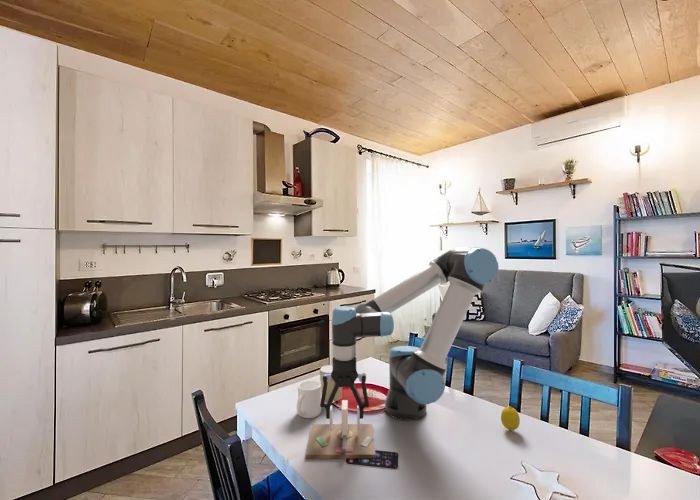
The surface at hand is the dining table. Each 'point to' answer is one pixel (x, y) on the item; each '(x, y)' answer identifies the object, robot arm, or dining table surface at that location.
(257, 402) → the dining table surface
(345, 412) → the beige flat block
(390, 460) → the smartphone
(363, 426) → the board
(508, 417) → the lemon
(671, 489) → the dining table surface
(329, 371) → the coffee cup
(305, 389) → the mug
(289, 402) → the dining table surface
